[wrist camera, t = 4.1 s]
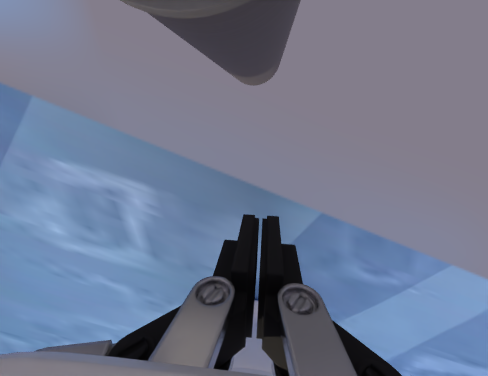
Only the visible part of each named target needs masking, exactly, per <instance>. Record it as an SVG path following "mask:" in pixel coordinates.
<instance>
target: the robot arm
mask: <svg viewBox="0 0 488 376" xmlns="http://www.w3.org/2000/svg"><path fill="white" fill-rule="evenodd" d="M258 230H259V218H255V215H246V214H244V215H243V219H242V223H241V228H240V232H239V237H238V241H235V240H225V241H224V243H223V246H222V250H221V253H220V256H219V259H218V262H217V265H216V268H215V271H214V274H213V276H211V277H207V278H204V279H202V280H200V281H199V282H197V283H196V284H195V286H194V287H193V288H192V290H191V291H190V293H189V295H188V296H187V298H186V299H185V301H184V303H183V304H182V305H181V306H179V307H178V308H176V309H174V310H172V311H170V312H169V313H167V314H165V315H163V316H161V317H159V318H158V319H156V320H154V321H152V322H150V323H148V324H147V325H145V326H143V327H141V328H139V329H138V330H136V331H134V332H132V333H130V334H128V335H127V336H125V337H124V338H122V339H121V340H119V341H118V342H117V343H115V344H112V341H111V340H106V341H98V342H89V343H81V344H72V345H63V346H55V347H47V348H43V349H39V350H36V351H34V352H16V353H9V354H2V355H0V376H267V375H259V374H251V373H243V372H235V371H231V370H232V367H233V363H234V355H235V354H237V353H238V352H239V351H240V350H242V349H243V348H244V347H245V345H246V337H248V338H252V327H253V313H254V299H255V285H256V271H257V251H258ZM256 338H257V339H262V350H263V351H264V352H265V353H266V354H267V355H268V356H269V358H270V359H271V360H272V374H273V376H402V375H401V374H400V373H399V372H398V371H397V370H396V369H394V368H393V367H392V366H391V365H390V364H389V363H387V362H386V361H385V360H383V359H382V358H381V357H379V356H378V355H377V354H376V353H374V352H373V351H372V350H370V349H369V348H368V347H366V346H365V345H364V344H363V343H361V342H360V341H359V340H357V339H356V338H355V337H353V336H352V335H351V334H350V333H348V332H347V331H346V330H344V329H343V328H342V327H340V326H339V325H338V324H336V323H335V322H334V321H333V320H331V317H330V315H329V313H328V311H327V309H326V307H325V304H324V302H323V300H322V298H321V297H320V295H319V294H318V293H317V292H316V291H315V290H314V289H312V288H310V287H309V286H307V285H303V282H302V277H301V272H300V267H299V262H298V257H297V251H296V247H295V245H289V244H281V236H280V225H279V217H277V216H267V219H263V221H262V240H261V258H260V277H259V297H258V317H257V337H256Z"/></svg>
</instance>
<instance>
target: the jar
mask: <svg viewBox="0 0 488 376" xmlns="http://www.w3.org/2000/svg"><path fill="white" fill-rule="evenodd" d="M257 317H258V301H256V300H254V313H253V327H252V338H248V337H246V345H245V347H244V348H243V349H242V350H240V351H239V352H238V353H237V354H235V355H234V363H233V367H232V370H231V371H235V372H243V373H251V374H259V375H267V376H273V374H272V360H271V359H270V358H269V356H268V355H267V354H266V353H265V352H264V351H263V350H262V339H257V338H256V337H257Z"/></svg>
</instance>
